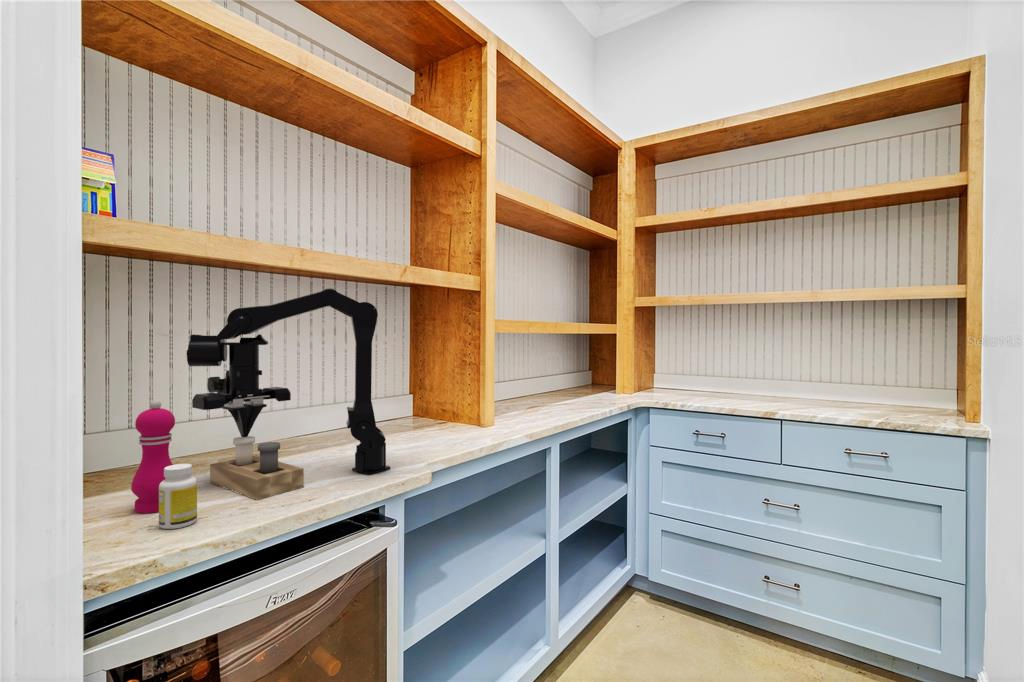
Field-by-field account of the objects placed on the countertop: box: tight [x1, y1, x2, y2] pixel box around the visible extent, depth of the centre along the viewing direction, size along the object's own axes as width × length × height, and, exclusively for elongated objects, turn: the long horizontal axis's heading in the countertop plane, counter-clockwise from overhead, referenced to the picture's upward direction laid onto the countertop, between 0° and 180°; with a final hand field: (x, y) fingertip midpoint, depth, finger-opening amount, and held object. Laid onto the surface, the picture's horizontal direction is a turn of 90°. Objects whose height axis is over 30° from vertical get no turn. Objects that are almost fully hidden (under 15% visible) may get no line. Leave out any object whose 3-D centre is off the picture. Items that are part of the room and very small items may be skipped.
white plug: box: [232, 435, 256, 467], centre depth 109 cm, size 4×4×6 cm
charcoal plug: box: [257, 441, 281, 474], centre depth 103 cm, size 4×4×6 cm
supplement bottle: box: [158, 463, 198, 530], centre depth 85 cm, size 5×5×10 cm
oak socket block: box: [209, 454, 305, 501], centre depth 106 cm, size 10×19×4 cm, turn 55°
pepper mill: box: [130, 399, 176, 514], centre depth 92 cm, size 7×7×20 cm
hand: (244, 436), depth 109 cm, fingers closed
